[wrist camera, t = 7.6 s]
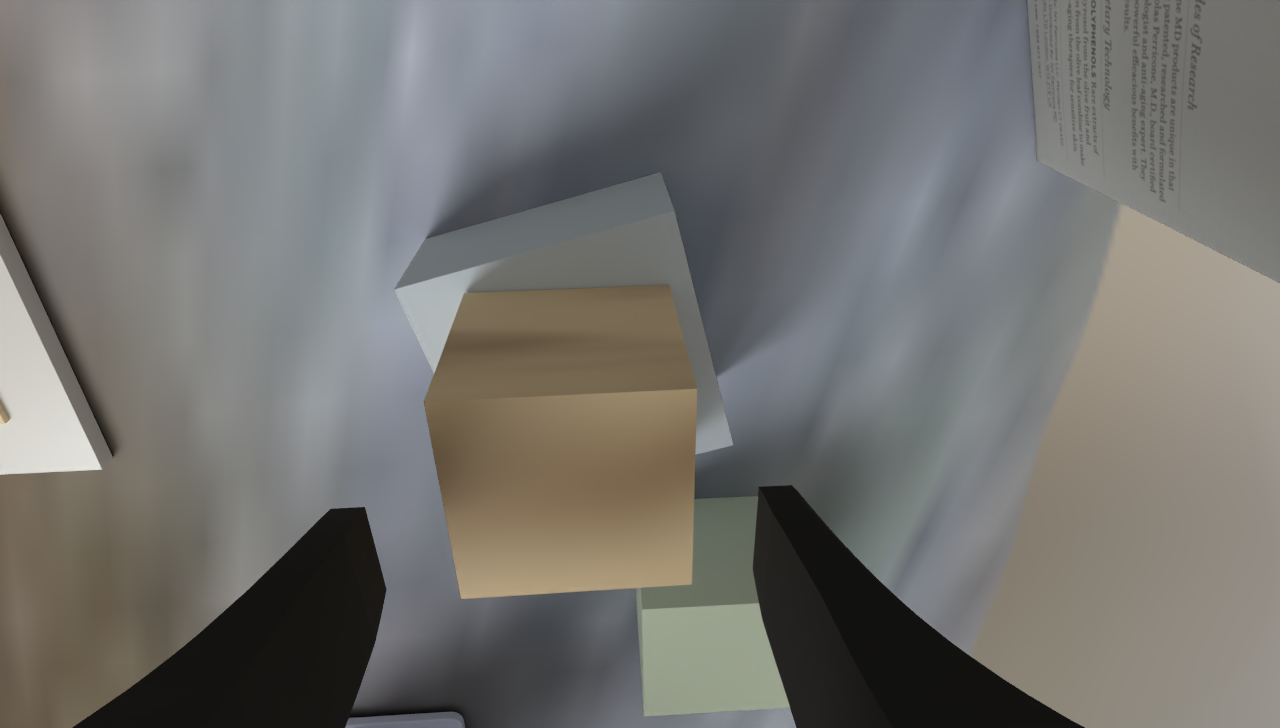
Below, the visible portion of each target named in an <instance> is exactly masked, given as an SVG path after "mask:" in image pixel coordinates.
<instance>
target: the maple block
mask: <svg viewBox="0 0 1280 728" xmlns="http://www.w3.org/2000/svg"><path fill="white" fill-rule="evenodd" d="M424 406H425V411H426V416H427V422H428V427H429V432H430V437H431V443H432V448H433V453H434V459H435V464H436V469H437V474H438V480H439V485H440V490H441V495H442V501H443V506H444V511H445V516H446V522H447V527H448V532H449V537H450V543H451V548H452V553H453V558H454V564H455V569H456V574H457V580H458V585H459V590H460V595H461V599H470V598H486V597H502V596H518V595H534V594H549V593H565V592H581V591H597V590H613V589H628V588H644V587H660V586H676V585H692V561H693V525H694V489H695V453H696V418H697V386H696V382H695V378H694V375H693V371H692V367H691V364H690V360H689V356H688V353H687V349H686V345H685V342H684V338H683V334H682V330H681V327H680V323H679V319H678V316H677V312H676V308H675V305H674V301H673V297H672V294H671V290H670V286H669V285H650V286H625V287H601V288H576V289H552V290H527V291H502V292H478V293H464V294H463V297H462V300H461V302H460V305H459V308H458V311H457V313H456V316H455V319H454V321H453V324H452V327H451V330H450V332H449V335H448V338H447V340H446V343H445V346H444V349H443V351H442V354H441V357H440V359H439V362H438V365H437V368H436V370H435V373H434V376H433V378H432V381H431V384H430V386H429V389H428V392H427V395H426V397H425V400H424Z"/></svg>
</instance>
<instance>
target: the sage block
mask: <svg viewBox="0 0 1280 728" xmlns="http://www.w3.org/2000/svg"><path fill="white" fill-rule="evenodd" d="M757 505H758V496H748V497H726V498H705V499H694V525H693V561H692V585H676V586H660V587H644V588H636V608H637V623H638V638H639V652H640V667H641V682H642V697H643V711H644V717H645V716H661V715H678V714H694V713H710V712H727V711H743V710H760V709H776V708H790V706H789V702H788V699H787V696H786V693H785V690H784V687H783V684H782V681H781V677H780V674H779V671H778V668H777V665H776V662H775V659H774V656H773V652H772V649H771V646H770V643H769V640H768V637H767V633H766V630H765V627H764V624H763V620H762V616H761V611H760V606H759V601H758V596H757V590H756V585H755V579H754V574H753V557H754V544H755V531H756V518H757Z"/></svg>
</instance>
